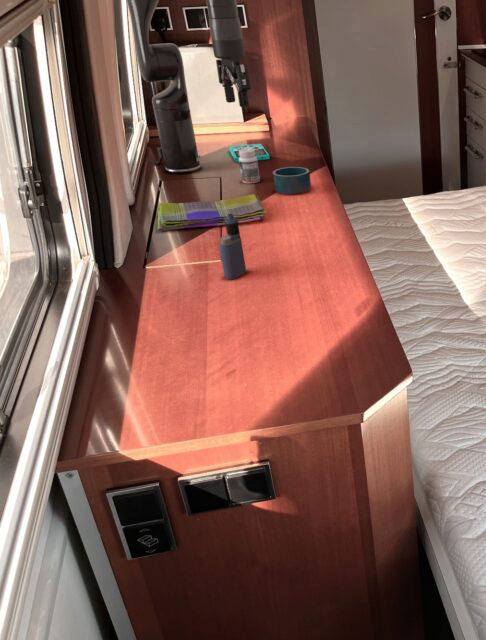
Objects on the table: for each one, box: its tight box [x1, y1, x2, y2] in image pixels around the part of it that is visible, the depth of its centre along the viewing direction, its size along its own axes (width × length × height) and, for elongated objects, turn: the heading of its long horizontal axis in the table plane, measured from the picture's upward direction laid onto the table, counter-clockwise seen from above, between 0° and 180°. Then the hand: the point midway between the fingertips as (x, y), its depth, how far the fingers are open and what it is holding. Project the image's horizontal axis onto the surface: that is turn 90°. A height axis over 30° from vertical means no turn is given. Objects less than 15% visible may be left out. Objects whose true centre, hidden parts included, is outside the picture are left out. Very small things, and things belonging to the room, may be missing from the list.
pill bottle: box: [238, 149, 261, 184], centre depth 219 cm, size 5×5×8 cm
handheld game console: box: [229, 143, 271, 163], centre depth 246 cm, size 10×16×1 cm, turn 24°
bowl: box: [272, 166, 312, 196], centre depth 213 cm, size 9×9×5 cm
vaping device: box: [218, 214, 247, 280], centre depth 159 cm, size 3×5×12 cm, turn 161°
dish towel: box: [157, 193, 268, 231], centre depth 194 cm, size 18×24×3 cm
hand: (237, 104), depth 211 cm, fingers open, 8 cm apart
